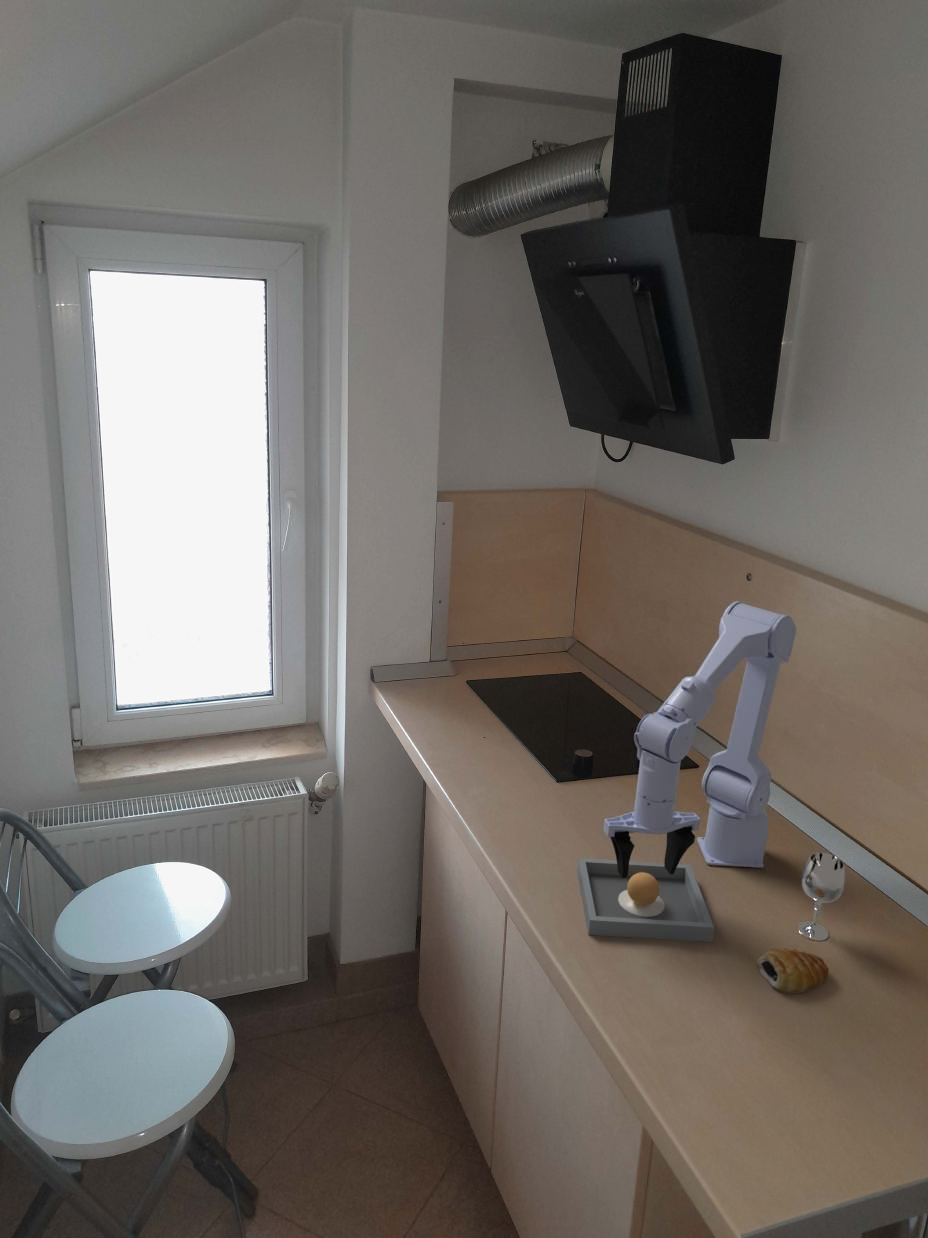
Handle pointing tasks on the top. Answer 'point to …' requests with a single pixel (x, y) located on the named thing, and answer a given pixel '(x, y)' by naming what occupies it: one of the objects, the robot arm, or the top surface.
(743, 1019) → the top surface
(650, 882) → the ball
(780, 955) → the pastry
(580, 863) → the grey serving tray
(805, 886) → the wineglass
